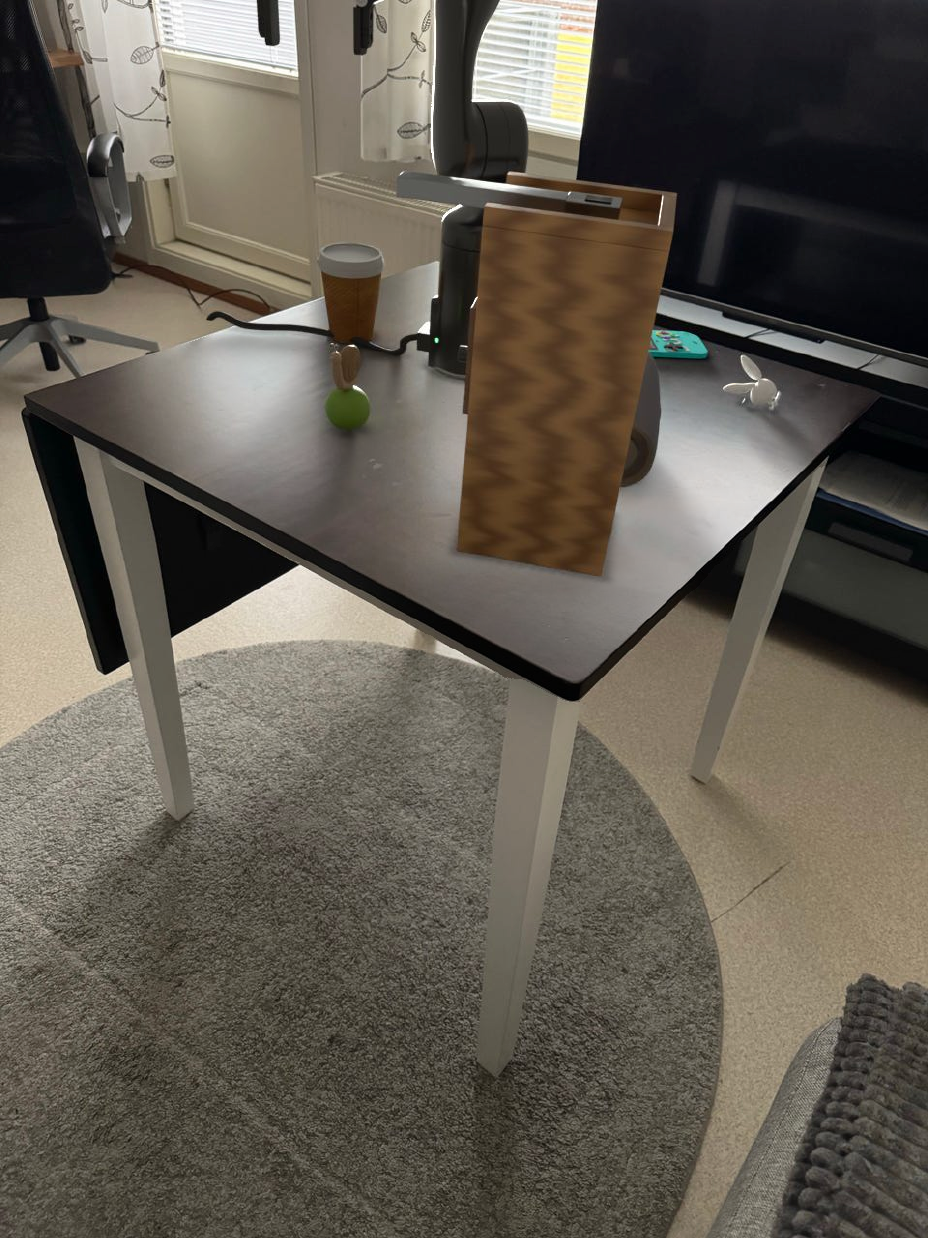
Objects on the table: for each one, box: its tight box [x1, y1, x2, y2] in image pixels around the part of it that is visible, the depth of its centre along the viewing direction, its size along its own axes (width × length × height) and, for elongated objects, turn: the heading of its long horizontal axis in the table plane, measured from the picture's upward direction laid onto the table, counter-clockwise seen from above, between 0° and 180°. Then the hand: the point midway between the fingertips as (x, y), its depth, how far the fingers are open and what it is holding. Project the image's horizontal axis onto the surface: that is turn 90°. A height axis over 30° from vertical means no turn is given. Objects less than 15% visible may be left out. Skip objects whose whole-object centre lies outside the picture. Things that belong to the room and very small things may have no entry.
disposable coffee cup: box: [316, 241, 386, 345], centre depth 131 cm, size 10×10×12 cm
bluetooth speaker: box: [620, 351, 662, 489], centre depth 110 cm, size 23×9×10 cm, turn 170°
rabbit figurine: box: [723, 354, 782, 412], centre depth 125 cm, size 6×4×8 cm
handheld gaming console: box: [649, 329, 708, 359], centre depth 139 cm, size 8×1×15 cm
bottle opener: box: [396, 170, 622, 220], centre depth 78 cm, size 19×3×2 cm, turn 78°
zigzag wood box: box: [456, 171, 678, 577], centre depth 87 cm, size 17×12×34 cm
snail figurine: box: [324, 342, 371, 432], centre depth 108 cm, size 5×6×12 cm
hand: (316, 49), depth 85 cm, fingers open, 8 cm apart
